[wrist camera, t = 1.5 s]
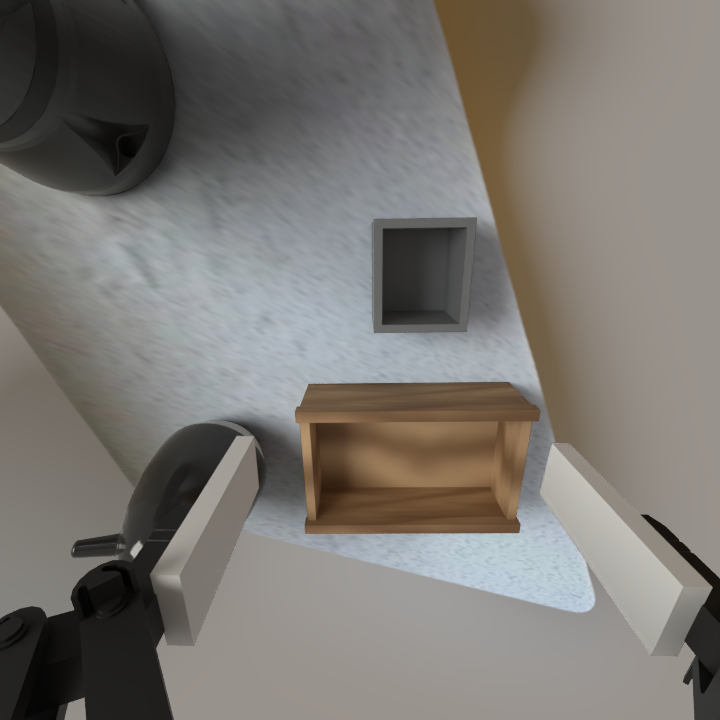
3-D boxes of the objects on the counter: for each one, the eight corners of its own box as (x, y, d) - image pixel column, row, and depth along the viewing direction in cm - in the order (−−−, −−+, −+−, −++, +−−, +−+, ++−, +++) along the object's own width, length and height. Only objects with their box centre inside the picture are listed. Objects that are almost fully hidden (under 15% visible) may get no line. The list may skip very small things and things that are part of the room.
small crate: (371, 223, 29) (373, 219, 24) (454, 221, 29) (476, 217, 24) (372, 316, 32) (373, 332, 26) (448, 315, 32) (466, 331, 26)
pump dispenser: (182, 393, 35) (55, 502, 20) (284, 419, 36) (230, 540, 21) (172, 475, 38) (56, 618, 24) (266, 496, 39) (208, 648, 24)
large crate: (306, 383, 34) (294, 412, 28) (510, 381, 34) (540, 410, 28) (314, 489, 38) (305, 533, 33) (495, 488, 38) (519, 533, 32)
